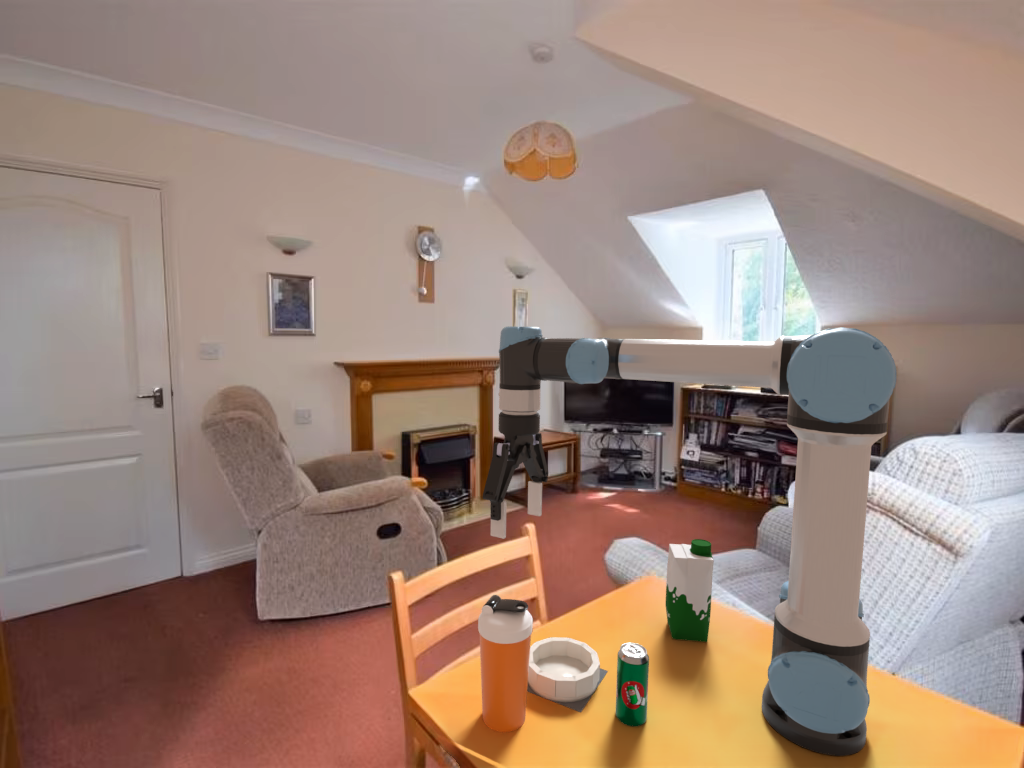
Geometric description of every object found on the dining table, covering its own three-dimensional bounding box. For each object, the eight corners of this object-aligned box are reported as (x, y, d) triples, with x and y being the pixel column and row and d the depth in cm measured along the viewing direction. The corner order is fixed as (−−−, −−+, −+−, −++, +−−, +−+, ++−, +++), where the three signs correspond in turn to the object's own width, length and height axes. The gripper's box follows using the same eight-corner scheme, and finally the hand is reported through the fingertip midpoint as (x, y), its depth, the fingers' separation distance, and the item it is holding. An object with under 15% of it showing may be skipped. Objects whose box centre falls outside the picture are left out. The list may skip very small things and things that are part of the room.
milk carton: (712, 645, 111) (717, 551, 110) (667, 641, 113) (671, 548, 111) (703, 622, 120) (708, 535, 118) (662, 619, 121) (665, 532, 119)
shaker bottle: (525, 742, 84) (528, 620, 82) (470, 733, 86) (471, 613, 84) (534, 704, 93) (537, 592, 91) (484, 696, 95) (485, 587, 93)
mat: (607, 673, 102) (607, 671, 102) (580, 714, 91) (580, 712, 91) (546, 651, 108) (546, 649, 108) (513, 687, 97) (513, 685, 97)
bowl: (608, 670, 102) (609, 650, 101) (581, 712, 90) (581, 690, 90) (545, 649, 108) (546, 630, 108) (512, 685, 97) (513, 664, 97)
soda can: (626, 703, 93) (629, 637, 92) (652, 718, 90) (655, 650, 89) (609, 717, 90) (611, 649, 89) (635, 734, 86) (638, 663, 85)
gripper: (533, 402, 111) (531, 503, 113) (462, 418, 89) (461, 542, 91) (566, 405, 107) (564, 510, 109) (501, 422, 86) (499, 552, 88)
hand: (517, 525), depth 100 cm, fingers open, 13 cm apart
